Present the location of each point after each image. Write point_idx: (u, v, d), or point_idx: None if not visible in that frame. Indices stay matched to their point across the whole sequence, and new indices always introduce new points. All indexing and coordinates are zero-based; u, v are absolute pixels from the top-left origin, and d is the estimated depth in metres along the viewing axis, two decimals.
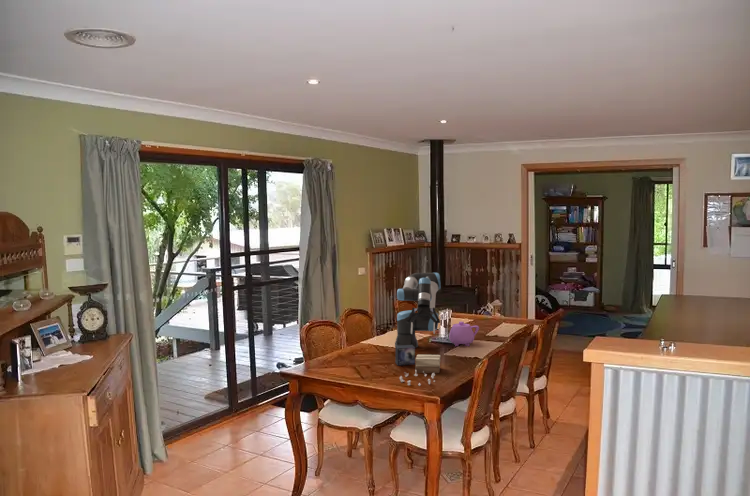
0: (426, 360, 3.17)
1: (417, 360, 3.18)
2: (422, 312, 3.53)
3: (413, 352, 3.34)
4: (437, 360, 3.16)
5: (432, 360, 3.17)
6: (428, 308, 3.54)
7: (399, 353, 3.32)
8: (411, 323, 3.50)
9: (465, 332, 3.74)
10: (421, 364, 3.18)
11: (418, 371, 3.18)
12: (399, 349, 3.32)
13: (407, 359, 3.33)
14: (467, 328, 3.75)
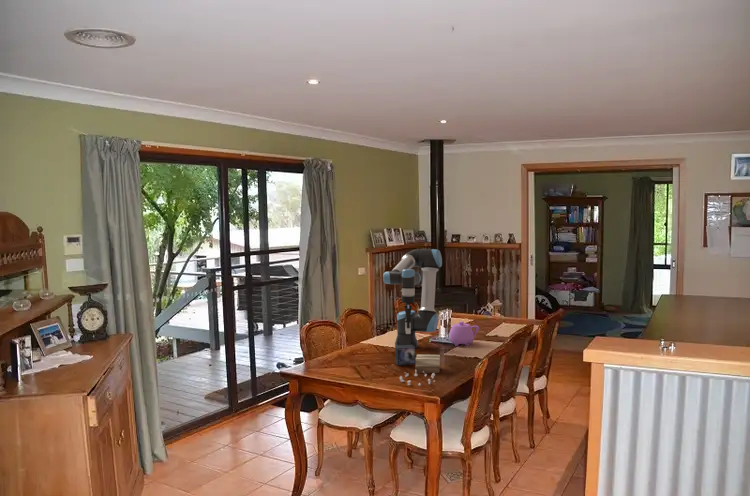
0: (426, 360, 3.17)
1: (417, 360, 3.18)
2: None
3: (413, 352, 3.34)
4: (437, 360, 3.16)
5: (432, 360, 3.17)
6: (406, 305, 3.34)
7: (399, 353, 3.32)
8: (405, 320, 3.44)
9: (465, 332, 3.74)
10: (421, 364, 3.18)
11: (418, 371, 3.18)
12: (399, 349, 3.32)
13: (407, 359, 3.33)
14: (467, 328, 3.75)
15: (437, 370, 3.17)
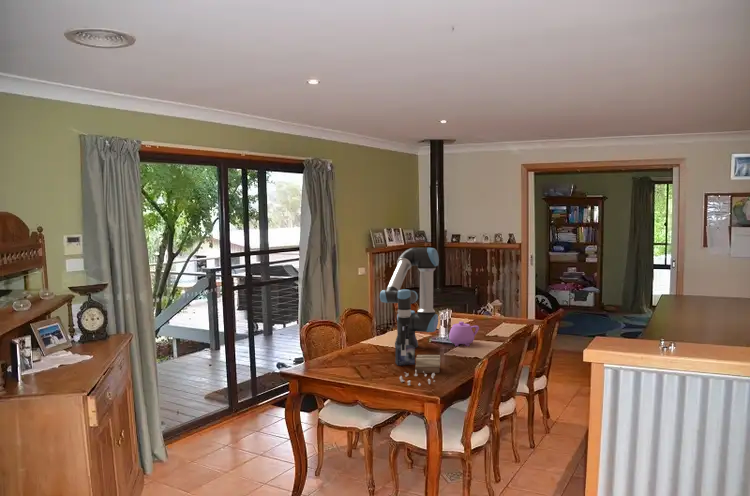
0: (426, 360, 3.17)
1: (417, 360, 3.18)
2: None
3: (413, 352, 3.34)
4: (437, 360, 3.16)
5: (432, 360, 3.17)
6: (402, 326, 3.32)
7: (399, 353, 3.32)
8: None
9: (465, 332, 3.74)
10: (421, 364, 3.18)
11: (418, 371, 3.18)
12: (399, 349, 3.32)
13: (407, 359, 3.33)
14: (467, 328, 3.75)
15: (437, 370, 3.17)
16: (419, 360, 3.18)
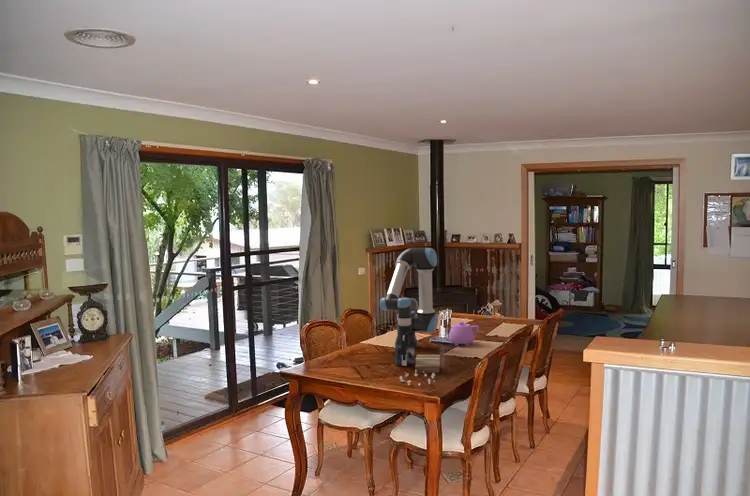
0: (426, 360, 3.17)
1: (417, 360, 3.18)
2: None
3: (413, 352, 3.34)
4: (437, 360, 3.17)
5: (432, 360, 3.17)
6: (402, 335, 3.33)
7: (399, 353, 3.32)
8: None
9: (465, 332, 3.74)
10: (421, 364, 3.18)
11: (418, 371, 3.18)
12: (399, 349, 3.32)
13: (407, 359, 3.33)
14: (467, 328, 3.75)
15: (437, 370, 3.17)
16: (419, 360, 3.18)
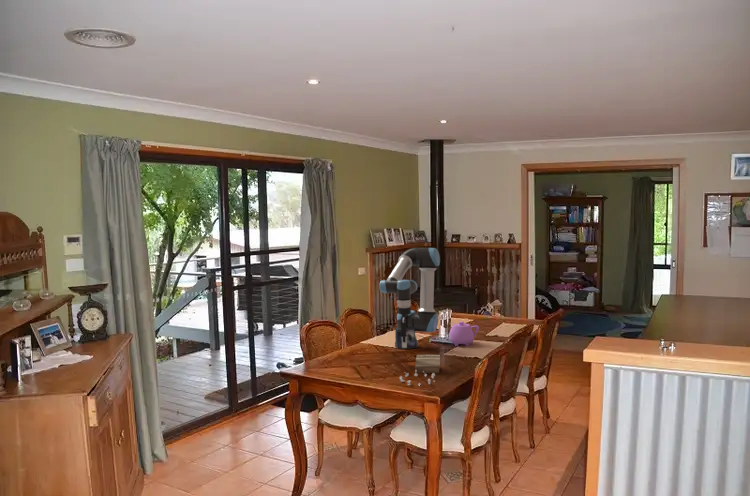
0: (426, 360, 3.17)
1: (417, 360, 3.18)
2: None
3: (413, 334, 3.34)
4: (438, 360, 3.17)
5: (433, 360, 3.17)
6: (401, 317, 3.32)
7: (399, 335, 3.32)
8: None
9: (465, 332, 3.74)
10: (421, 364, 3.18)
11: (418, 371, 3.18)
12: (399, 331, 3.32)
13: (407, 341, 3.33)
14: (467, 328, 3.75)
15: (437, 370, 3.17)
16: (419, 360, 3.18)
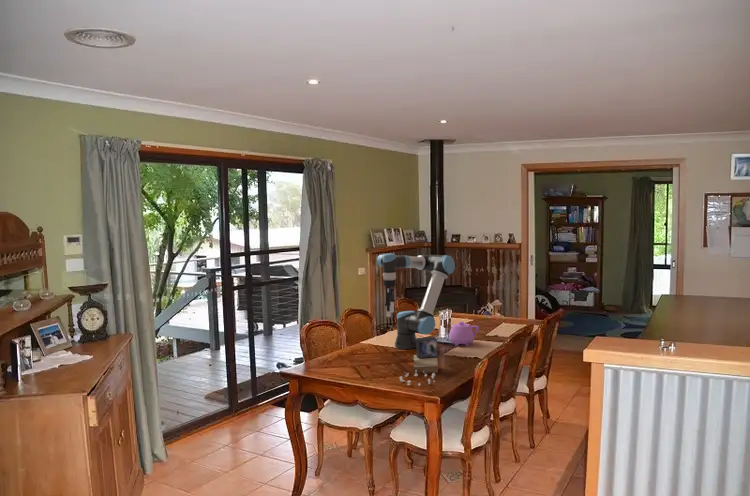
0: (424, 360, 3.17)
1: (415, 361, 3.18)
2: None
3: (435, 344, 3.20)
4: (435, 360, 3.17)
5: (430, 360, 3.17)
6: (387, 289, 3.44)
7: (421, 345, 3.18)
8: (389, 303, 3.55)
9: (465, 332, 3.74)
10: (419, 365, 3.18)
11: None
12: (421, 341, 3.18)
13: (429, 352, 3.19)
14: (467, 328, 3.75)
15: (435, 370, 3.17)
16: (417, 360, 3.18)
